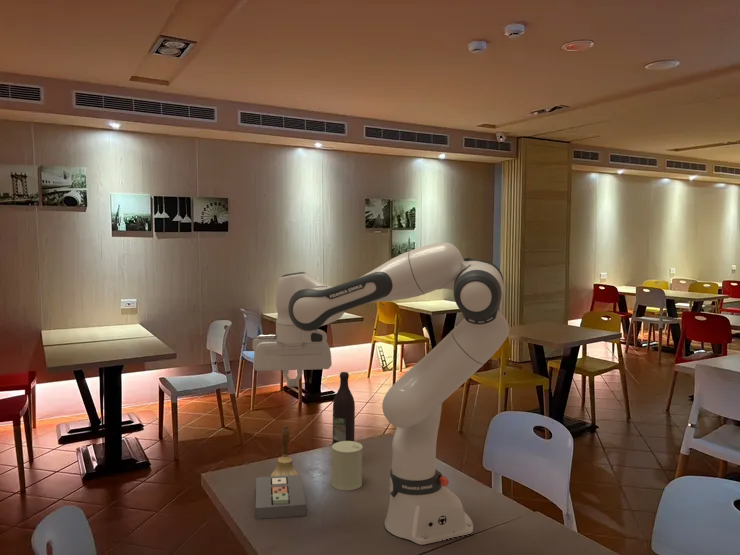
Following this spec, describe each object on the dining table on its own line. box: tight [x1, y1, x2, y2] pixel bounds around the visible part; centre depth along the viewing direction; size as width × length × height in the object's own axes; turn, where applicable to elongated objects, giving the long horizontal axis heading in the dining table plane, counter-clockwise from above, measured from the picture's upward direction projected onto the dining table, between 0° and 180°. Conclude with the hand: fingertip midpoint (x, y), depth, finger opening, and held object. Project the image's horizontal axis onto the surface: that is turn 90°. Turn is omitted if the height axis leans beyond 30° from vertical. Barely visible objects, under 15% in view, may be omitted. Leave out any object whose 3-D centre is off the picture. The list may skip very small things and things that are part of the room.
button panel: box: [255, 474, 307, 520], centre depth 157 cm, size 13×19×3 cm
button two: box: [273, 493, 288, 505], centre depth 151 cm, size 4×4×3 cm
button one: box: [272, 477, 287, 485], centre depth 163 cm, size 4×4×3 cm
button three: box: [272, 486, 287, 495], centre depth 157 cm, size 4×4×3 cm
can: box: [330, 440, 364, 492], centre depth 169 cm, size 9×9×12 cm
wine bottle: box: [332, 371, 356, 445], centre depth 183 cm, size 7×7×30 cm
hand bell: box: [270, 424, 299, 477], centre depth 173 cm, size 8×8×16 cm
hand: (292, 386), depth 149 cm, fingers closed
